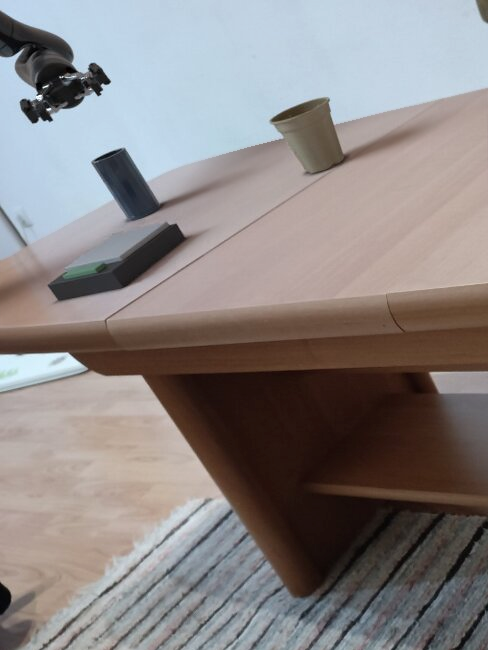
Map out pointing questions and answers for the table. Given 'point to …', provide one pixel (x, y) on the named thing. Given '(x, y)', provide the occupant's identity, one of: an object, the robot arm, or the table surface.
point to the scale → (116, 260)
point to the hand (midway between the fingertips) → (71, 102)
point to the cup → (126, 184)
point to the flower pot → (310, 134)
